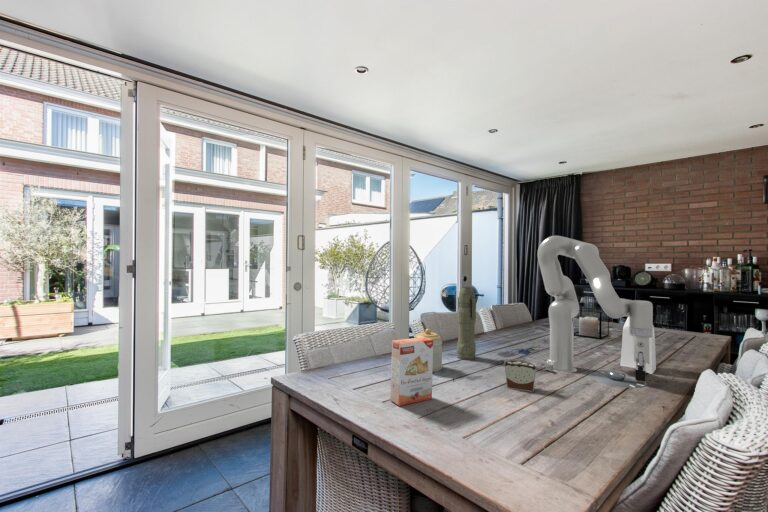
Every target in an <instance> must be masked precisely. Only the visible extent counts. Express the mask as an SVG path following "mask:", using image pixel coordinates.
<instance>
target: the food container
mask: <svg viewBox="0 0 768 512" xmlns="http://www.w3.org/2000/svg"><path fill="white" fill-rule="evenodd" d="M502 367H504V370H505V371H504V373H505V381H506V382H505V383H506V388H507V389H513V390H518V391H525V392H534V391H535V390H534V389H535V382H536V381H535V380H536V373H537V372H538V371H539V370H538V366H537V364H536V363H535V362H533V361H530V360H526V359H519V358H515V359H514V358H513V359H512V358H511V359H509V358H508V359H506V360H504V362H503V365H502Z"/></svg>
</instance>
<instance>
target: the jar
mask: <svg viewBox="0 0 768 512" xmlns="http://www.w3.org/2000/svg"><path fill="white" fill-rule="evenodd" d="M414 336H415V337H414V338H419V337H426V338H429V339H432V340H433V371H432V373H435V372H439V371H441V370H442V367H443V348H442V344H443V340H441V335H439V334H438V333H436V332H432V329H430V328H426V329H425V330H424V331H423V332H418V334H416V335H414Z"/></svg>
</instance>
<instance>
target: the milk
mask: <svg viewBox="0 0 768 512" xmlns="http://www.w3.org/2000/svg"><path fill="white" fill-rule="evenodd" d="M655 336H656V335H655V326H654V325H653V337H652V338H649V342H650V363H649V364H647V363H646V374H647V373H648V374H650V375H653V374H654V372H656V369H657V356H656V337H655ZM621 338H622V339H621V352H620V363H619V364H620V366H621V367H626V368H631V369H636V362H635V361H634V355H633V336H630V335H629V316H627V317H626V320H625V322H624V325H623V327H622V336H621ZM638 353H639V352H638Z"/></svg>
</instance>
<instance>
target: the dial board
mask: <svg viewBox="0 0 768 512" xmlns="http://www.w3.org/2000/svg"><path fill="white" fill-rule="evenodd" d="M626 376H628V377H633V378H635V376H633V375H629V374H626ZM588 378H590V379H592V380H593V381H595V382H597V383H601V384H604V385H608V386H614V387H619V388H628V389H629V388H630V389H638V388H639V389H641V388H645V387H646V386H648V383H647V382H646V383H638V382H633V381H628V380H616V379H611V378H609V377H608V371H594V372H593V371H592V372H590V373H588Z"/></svg>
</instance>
